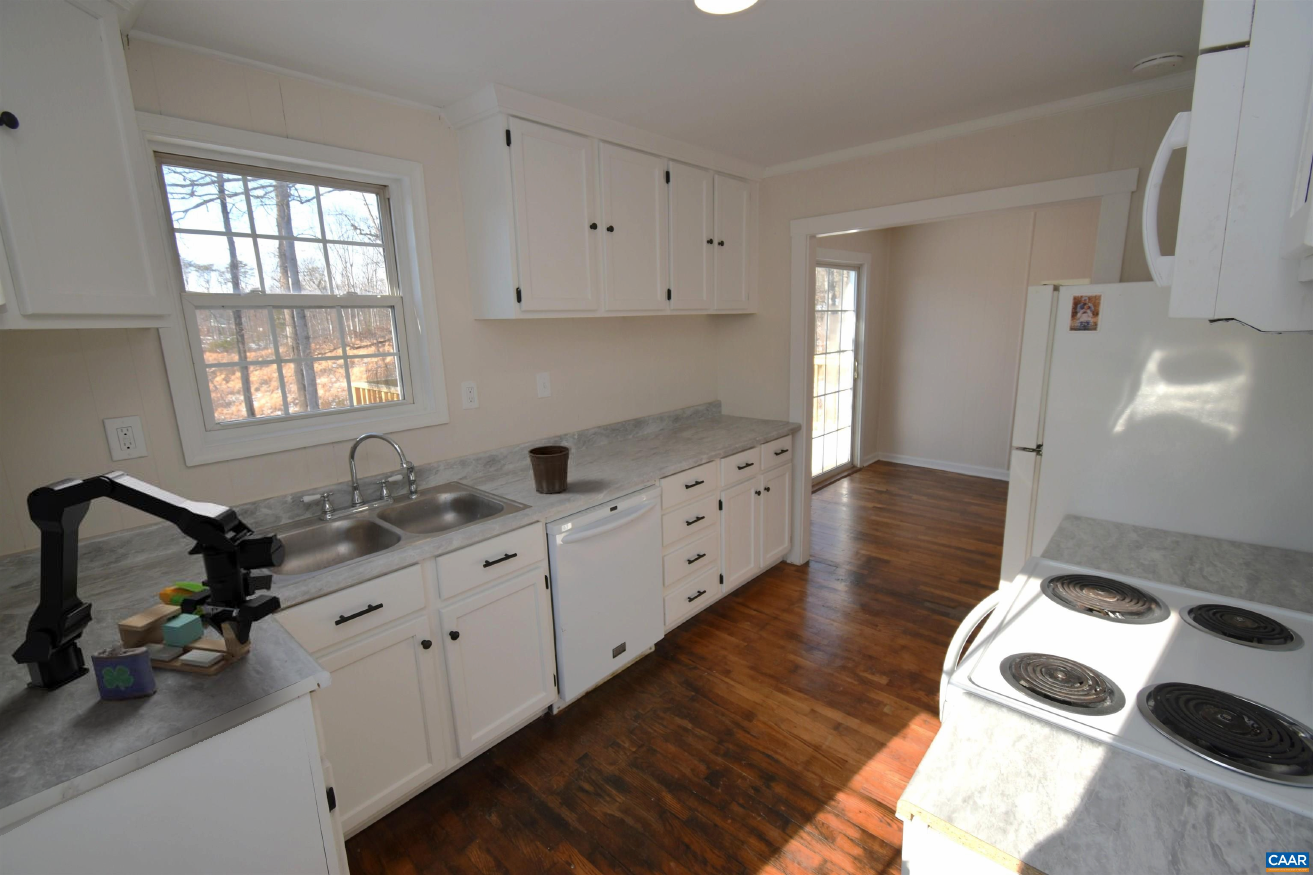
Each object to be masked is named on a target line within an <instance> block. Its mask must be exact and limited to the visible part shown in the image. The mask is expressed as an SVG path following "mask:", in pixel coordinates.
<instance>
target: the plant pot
mask: <svg viewBox="0 0 1313 875" xmlns="http://www.w3.org/2000/svg"><path fill="white" fill-rule="evenodd" d="M570 451H571V448H570V447H569V446H565V445H540V446H536V447H534V448H530V449H529V450H527V454H528V455H529V460H530V463H531V466H532V468H531V469H532V474H533V478H534V486H535V491H536V492H538V494H543V493H547V494H546V495H549V494H548V493H555V494H557V493H558V492H559V493H562V491H563V492H564V490H565V489H566V490H567V489H568V470H569V469H568V468H569V465H568V464H569V459H570ZM566 490H565V491H566Z"/></svg>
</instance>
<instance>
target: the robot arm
mask: <svg viewBox="0 0 1313 875" xmlns="http://www.w3.org/2000/svg"><path fill="white" fill-rule="evenodd" d="M103 497H104V498H107V499H110V500H113V501H115V502H118V503H121V504H122V505H126V506H128V507H131V508H132V509H136V510H138V511H140V512H144V513H147V514H148V515H151V516H154V517H157V518H159V519H162V520H164V521H166V522H169V523H171V524H173V525H175V526H176V527H177V528H178V530H179V531H180V532H181V533H182V534H183V535H185V536H187V537H188V538H190V539H191V540H194V541H195V542H196V543H195V544H194V545H193V547H192V548H191V549H190V550H189V551H187V555H189V556H195V555H202V556H201V557H202V561H203V566H204V570H205V571H204V572H205V577H206V579H204V580H201V584H202V586H204V587H209V589H207V588H205V589H203V590H200V591H198V592H196V593H194V594H192V595H190V596H188V597H186V598H184V599H183V601H182V602H181V604H180V607H181V612H180V613H185V614H194V613H195V612H196V611H197V606H199V605H201V606H200V608H202V612H203V614H202V615H200V616H199V617H200V619H201V620H203V621H204V622H205V623H207V624H208V625H209V626H210V627H211V628H212V629H213V630H214V631H215V632H217V633H218V634H219V635H220V636H221V637H222V638H223V639H224V636H223V631H222V626H221V623H223V622H225V621H227V622H228V624H229V625H230V627H231V629H232V631H233V632H234V634H235V636H236V637H237V639H238V641H239V642H240V643H241V645H244V644H245V643H247V642H248V638H249V635H250V633H251V629H252V625H253V623H256V622H259V621H260V620H263V619H264V618H266V617H268V616H269V615H271V614H273V613H275V612H277V610H280V609H282V604H281V599H280V597H278V596H276V595H271V594H259V595H258V596H255V597H254V598H249V599H248V597H252V596H254V595H256V594H257V593H256V592H257V591H263V590H266V591H270V590H272V589H271V588H272V584H273V578H274V577H273V576H274V574H273V573H267V572H266V573H264V572H252V571H253V570H264V569H274V568H281V567H282V565H283V563H284V562H285V557H286V546H285V544H283V541H282V540H281V539H280V538H278V533H276V532H271V533H266V534H259V535H255V531H254V530H253V529H252V528H251V527H249V526H248V525H247V524H246V523H245V522H244V521H243V520H242V519H240V518H239V517H238V515H237V512H236V511H235V510H234V509H232V508H231V507H228V506H223V505H221V504H215V503H213V502H212V503H211V502H202V501H201V502H199V501H194V500H189V499H187V498H185V497H182V496H179V495H176V494H174V493H172V492H169V491H167V490H164V489H161V488H159V487H158V486H154V485H152V484H149V483H147V482H144V481H142V480H139V479H137V478H135V477H132V476H129V475H128V474H127V473H126V472H125V471H120V470H111V471H109V472H106V473H103V474H100V475H96V476H91V477H87V478H84V479H82V480H81V479H80V478H74V477H68V478H64V479H61V480H58V481H55V482H53V483H52V482H51V483H49V484H45V485H43V486H40V487H37V488H35V489H34V490H32V491H31V492H29V493H28V495H27V497H26V505H27V511H28V515H29V519H30V521H31V522H33V524H34V525H35V526H36V527H37V528H38V529H39V531H40V554H39V555H40V562H39V564H40V566H39V568H40V569H39V571H40V572H39V603H38V605H37V607H36V608H35V610H34V611H33V613H32V615H31V616H30V618H29V620H28V622H27V626H26V631H25V636H24V637H25V640H24V641H23V642H22V643H21V644H20V646H18V648H17V649H16V650H14V652H13V653H12V654H11V657H12V659H13V660H14V661H15V662H16V664H18V665H24V664H26V667H27V670H28V673H29V677H30V681H29V682H27V683H26V687H28V688H32V689H33V688H34V689H40V690H45V691H53V690H55V689H57V688H59V687H61V686H63V685H64V684H66V683H69V682H70V681H74V680H75V679H76V678H79V677H81V676H82V675H85V674H87V673H88V672H89V671H91V669H90V668H89V667H85V666H86V660H85V658H84V653H83V650H82V647H81V646H78V643H77V640H78V639H79V640H80V639H81V638H82V637H83V633H84V630H85V629H86V628H87V627H88V625H89V623H90V622H91V621H93V616H92V613H91V611H92V607H93V603H92V602H83V601H82V599H80V597H79V596H78V563H79V532H80V531H79V529H80V526H81V524H82V522H83V521H84V519H85V517H86V515H87V514H88V512H89V510H90V506H91V502H92V501H93V500H96V499H100V498H103ZM232 533H234V535H232V536H231V537H227V536H228V535H230V534H232ZM234 612H235V613H234ZM234 614H235V615H234Z"/></svg>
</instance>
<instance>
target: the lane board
mask: <svg viewBox="0 0 1313 875" xmlns="http://www.w3.org/2000/svg"><path fill="white" fill-rule="evenodd" d="M178 613H182V612H181V607H179V606H171V605H166V604H161V603H160V604H157V605H155V606H153V607H150V608H148V609H145V610H144V611H142V612H139V613H137V614H135V615H133V616H131V617H129V618H126V619H124V620H122V621H120V622H118V623H117V628H118V632H119V636H120V641H121V642H124V644H123V645H122V647H123V648H122V649H132V648H133V649H134V648H140V647H142V646H144V645H146V644H148V643H151V644H158V645H163V641H165V640H164V636H163V631H162V627H161V625H162V624H164V623H166V622H168V620H167V619H169V618H171V617H173V616H175V615H176V614H178ZM165 646H170V645H165ZM172 647H177V646H172ZM179 648H183V653H181V654H180V655H178V656H176V657H174V658H172V659H171V660H169V661H165V660H159V659H152V658H150V663H151V667H156V668H163V669H169V670H170V669H171V670H175V671H176V670H177V671H184V672H189V673H195V674H201V675H202V674H203V675H208V676H214V675H216V674H217V673H218V672H221V671H222V670H224V669H225V668H227V667H228V666H230V665H231V664H233V663H235V662H236V661H238V660H240V659H241V658H242V657H244V656H246V655H248V654H250V652H251V650H250V649H251V648H250V649H248V650H247V651H245V652H243V653H242V654H240V655H239V656H232V655H231V654H227V653H222V659H220V660H218V661H217V662H215V663H213V664H212V665H210V666H208V667H206V666H199V665H192V664H185V663H180V661H179V658H180V657H182V656H184V655H185V654H187V653H189V652H191V651H192V650H198V649H191V648H184V647H179ZM200 651H205V650H200ZM208 652H213V651H208ZM215 653H220V652H215Z"/></svg>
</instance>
